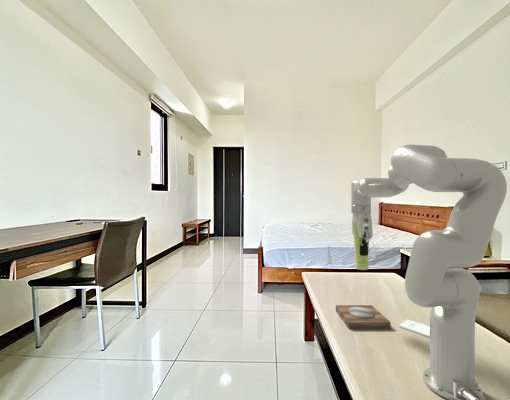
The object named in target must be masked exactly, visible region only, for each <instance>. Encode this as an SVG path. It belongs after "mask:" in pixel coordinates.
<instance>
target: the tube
mask: <svg viewBox="0 0 510 400" xmlns="http://www.w3.org/2000/svg"><path fill="white" fill-rule="evenodd" d="M352 227H353V234H352V235H353V243H354V245H353V247H354V259H355V260H354V262H355V264H354V265H355V268H356V269H357V270H360V271H366V270H369V254H370V253H369V249H370V248H369V247H370V244H369V245H368V255H360V245H361V243H360V238H359V237H358V236H357V231H356V225H355V222H351V228H352ZM362 238H365V236H363V237H362ZM363 240H365V239H363Z"/></svg>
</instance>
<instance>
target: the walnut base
mask: <svg viewBox="0 0 510 400" xmlns="http://www.w3.org/2000/svg"><path fill="white" fill-rule="evenodd" d="M335 312H336V314H338V316H339V318H340V319H341V320H342V322H343V323H344V324H345V325H346V327H347V329H348V330H349V329H350V330H352V329H353V330H361V329H362V330H363V329H364V330H365V329H366V330H368V329H370V330H373V329H374V330H379V329H380V330H381V329H382V330H383V329H386V330H388V329H391V321H390V320H389V319H388V318H386V316H384V315H383V314H382V313H381V312H380V311H379V310H378V309H377V308H375V307H374V306H373V305H372V304H369V305H368V304H364V305H361V304H356V305H355V304H352V305H351V304H345V305H343V304H342V305H341V304H336V305H335Z"/></svg>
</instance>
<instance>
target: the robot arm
mask: <svg viewBox="0 0 510 400" xmlns="http://www.w3.org/2000/svg"><path fill="white" fill-rule="evenodd" d="M387 176H388V177H365V178H362V179H356V180H352V182H351V183H350V186H351V191H350V192H351V194H350V195H351V203H350V204H351V214H352V220H351V221H352V222H355V225H356V231H357V236H358V237H359V238H360V243H361V245H360V255H368V245H369V246H370V241H371V239H372V238H373V233H374V232H373V222H372V221H373V220H372V198H391V197H395V196H398V195H400V194H402V193H405V192H406V191H407V190H408V188H409V186H410V185H412V184H414V185H416V186H418V187H419V188H421V189H423V190H426V191H429V192H433V193H462V194H463V196H462V197H460V199H459V200H458V201H457V202H456V203H455V205H454V206H453V208H452V210H451V212H450V215H449V220H448V222H447V224H446V226H445V228H443V229H433V230H427V231H424V232H422V233H421V234H419V235H418V236H417V237H416V239H415V240H414V242H413V245H412V248H411V252H410V256H409V259H408V263H407V268H406V272H405V276H404V277H405V278H404V289H405V293H406V295H407V297H408V299H409V300H410V301H411V302H412V303H413V304H415V305H416V306H419V307H422V308H431V309H430V313H429V326H430V338H429V368H426V369H425V370H424V371H423V373H422V378H423V381H424V384H426V386H427V387H428V388H429V389H430V390H431V391H433V392H434V393H435V394H437V395H438V396H440V397H443V398H445V399H446V400H486V399H487V398H486V397H485V395H484V392H483V390H482V388H481V387H480V385H479V382H477V380H476V354H475V353H476V343H475V342H476V315H477V308H478V304H479V300H480V295H481V289H480V284H479V281H478V280H477V278H476V277H475V275H474V274H473V273H471V272H470V271H468V270H467V269H465V268H472V267H475V266H479V265H480V263H482V261H483V260H484V257H485V255H486V252H487V249H488V245H489V242H490V240H491V237H492V234H493V231H494V228H495V223H496V220H497V219H498V216H499V213H500V210H501V208H502V206H503V204H504V201H505V199H506V195H507V191H508V183H507V179H506V177H505V175H504V174H503V171H502V170H501V169H500V168H499V167H498V166H496V165H495V164H493V163H491V162H489V161H486V160H483V159H477V158H467V157H464V158H463V157H462V158H461V157H448V155H447V153H446V152H445V150H443V149H442V148H441V147H439V146H436V145H431V144H430V145H428V144H427V145H425V144H424V145H423V144H404V145H402V146H399V147H398V148H397V149H396V150H395V151H394V152H393V154H392V155H391V158H390V165H389V167H388V170H387ZM352 222H351V223H352ZM351 229H352V230H351V234H352V235H353V227H352V226H351ZM363 236H365V238H362V237H363ZM363 239H365V240H363Z"/></svg>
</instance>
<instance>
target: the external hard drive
mask: <svg viewBox="0 0 510 400" xmlns="http://www.w3.org/2000/svg"><path fill="white" fill-rule="evenodd" d="M399 329H402V330H405V331H409V332H411V333H413V334H416V335H419V336H422V337H425V338H428V339H430V325H426V324H423V323H421V322H417V321H413V320H410V319H408V318H407V319H406V320H404V321H403V322H402V323H400V324H399Z"/></svg>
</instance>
